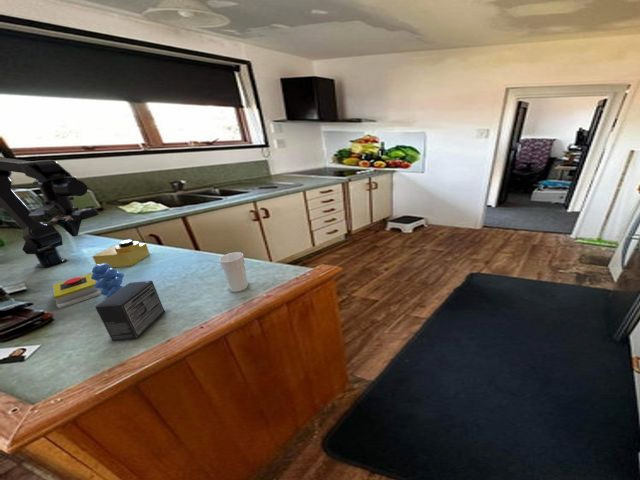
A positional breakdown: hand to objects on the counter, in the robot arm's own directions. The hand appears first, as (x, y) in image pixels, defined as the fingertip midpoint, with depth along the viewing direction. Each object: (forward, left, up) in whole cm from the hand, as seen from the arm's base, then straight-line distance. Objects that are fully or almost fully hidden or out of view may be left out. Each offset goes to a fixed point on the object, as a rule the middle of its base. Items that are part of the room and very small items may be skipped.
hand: (75, 236), depth 103 cm
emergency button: (+24, -13, -12) cm, 30 cm away
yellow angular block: (+12, +6, -12) cm, 18 cm away
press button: (+15, +7, -5) cm, 17 cm away
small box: (+62, -17, -12) cm, 65 cm away
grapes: (+39, -10, -12) cm, 42 cm away
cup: (+73, +5, -12) cm, 74 cm away
